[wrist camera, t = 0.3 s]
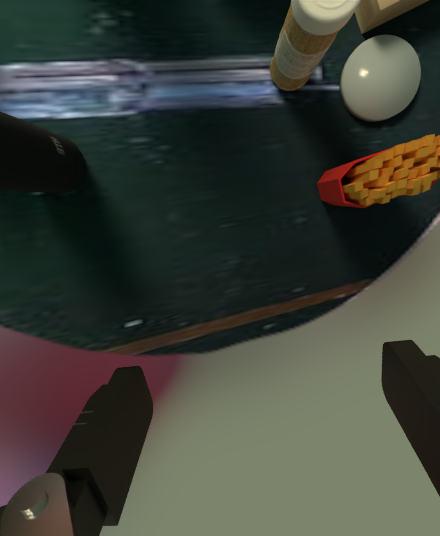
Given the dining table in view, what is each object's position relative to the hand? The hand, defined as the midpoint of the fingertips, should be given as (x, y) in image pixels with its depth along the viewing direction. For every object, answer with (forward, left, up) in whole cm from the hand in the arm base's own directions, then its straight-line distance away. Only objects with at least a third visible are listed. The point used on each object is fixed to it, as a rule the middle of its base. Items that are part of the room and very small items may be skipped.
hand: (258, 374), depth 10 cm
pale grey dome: (-11, +21, -27) cm, 36 cm away
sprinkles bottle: (-16, +13, -28) cm, 34 cm away
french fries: (-2, +15, -28) cm, 32 cm away
